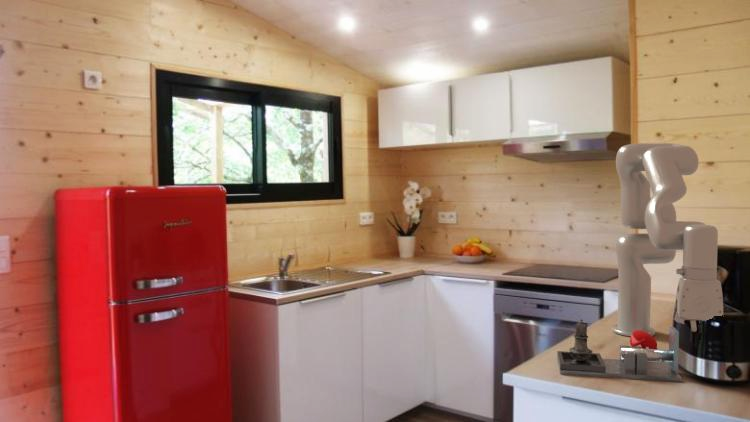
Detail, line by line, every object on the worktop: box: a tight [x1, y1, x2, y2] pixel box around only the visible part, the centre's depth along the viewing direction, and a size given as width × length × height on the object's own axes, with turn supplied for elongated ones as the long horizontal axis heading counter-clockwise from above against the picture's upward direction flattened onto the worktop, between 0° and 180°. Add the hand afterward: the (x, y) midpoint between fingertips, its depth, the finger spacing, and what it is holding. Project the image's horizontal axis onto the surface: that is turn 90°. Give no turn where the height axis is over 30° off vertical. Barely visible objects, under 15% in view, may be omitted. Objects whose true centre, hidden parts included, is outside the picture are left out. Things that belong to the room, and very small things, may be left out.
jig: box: [556, 345, 683, 383], centre depth 156 cm, size 12×28×6 cm, turn 77°
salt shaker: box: [568, 318, 594, 364], centre depth 158 cm, size 6×6×12 cm
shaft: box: [619, 326, 680, 372], centre depth 154 cm, size 5×13×10 cm, turn 77°
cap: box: [629, 330, 659, 350], centre depth 171 cm, size 8×6×6 cm
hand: (697, 345), depth 151 cm, fingers closed
